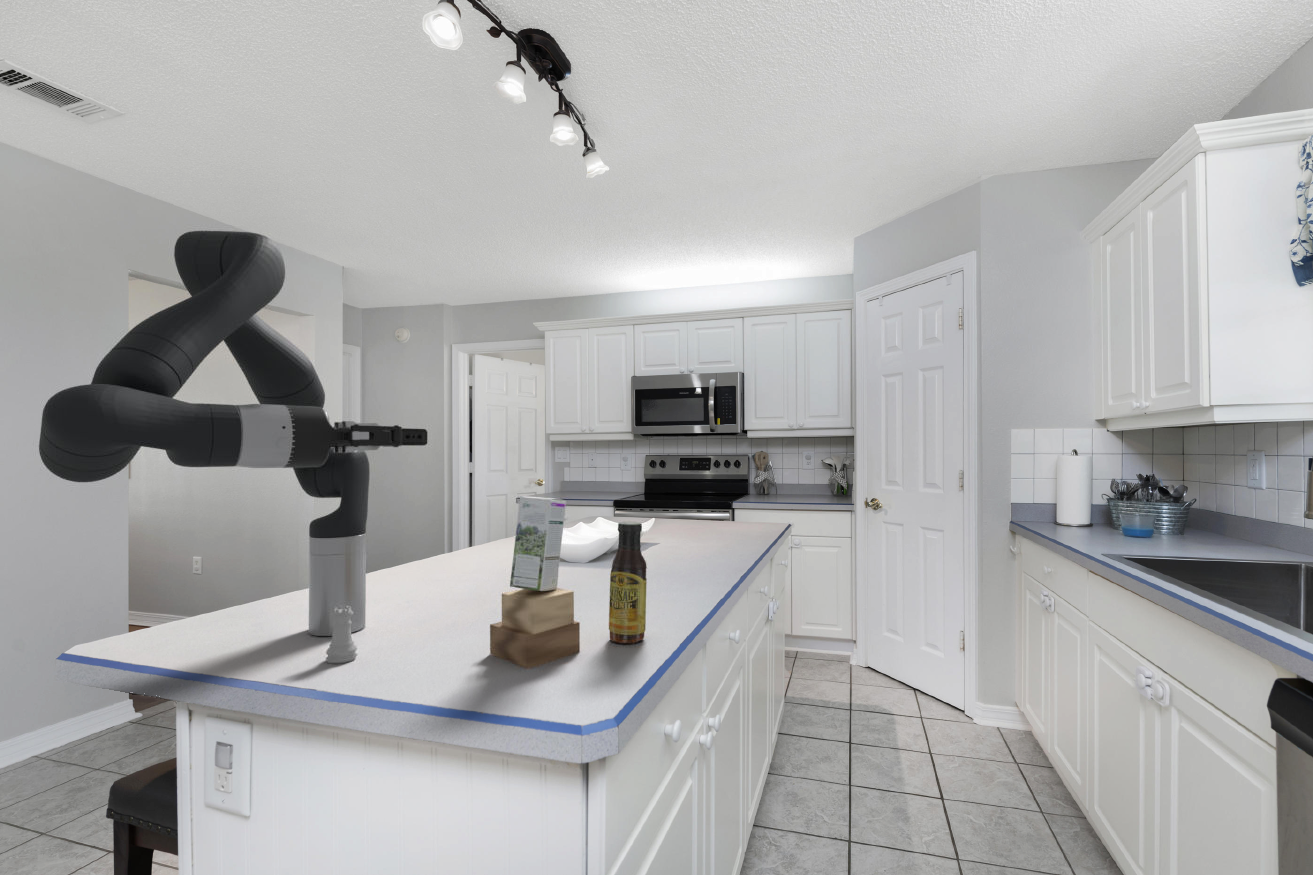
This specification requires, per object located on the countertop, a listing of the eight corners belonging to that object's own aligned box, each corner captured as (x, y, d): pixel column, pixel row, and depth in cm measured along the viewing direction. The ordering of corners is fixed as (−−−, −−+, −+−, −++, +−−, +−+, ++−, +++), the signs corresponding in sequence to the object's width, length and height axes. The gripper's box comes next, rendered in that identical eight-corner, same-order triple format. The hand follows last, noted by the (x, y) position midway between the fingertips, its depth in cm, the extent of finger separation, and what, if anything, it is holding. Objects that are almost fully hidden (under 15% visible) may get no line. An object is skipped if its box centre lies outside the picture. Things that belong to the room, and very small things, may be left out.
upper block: (501, 625, 96) (501, 593, 96) (542, 614, 102) (541, 584, 102) (533, 634, 91) (533, 600, 91) (573, 622, 97) (573, 591, 97)
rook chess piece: (325, 666, 92) (325, 612, 92) (325, 657, 96) (326, 606, 96) (358, 661, 94) (358, 609, 94) (357, 653, 98) (357, 603, 98)
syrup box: (558, 589, 99) (567, 500, 101) (539, 591, 93) (550, 497, 96) (527, 585, 101) (537, 497, 103) (507, 587, 95) (519, 494, 97)
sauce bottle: (602, 643, 102) (601, 523, 102) (618, 632, 107) (617, 519, 108) (638, 647, 99) (637, 525, 100) (653, 636, 105) (651, 521, 105)
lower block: (490, 656, 97) (490, 624, 97) (541, 641, 104) (541, 611, 104) (527, 670, 90) (527, 636, 90) (579, 653, 97) (579, 622, 97)
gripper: (300, 400, 68) (436, 408, 80) (260, 408, 77) (388, 413, 89) (299, 468, 67) (437, 465, 79) (260, 467, 77) (388, 465, 89)
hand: (411, 438), depth 84 cm, fingers open, 8 cm apart
